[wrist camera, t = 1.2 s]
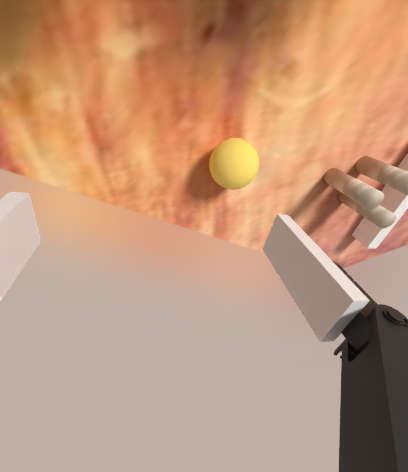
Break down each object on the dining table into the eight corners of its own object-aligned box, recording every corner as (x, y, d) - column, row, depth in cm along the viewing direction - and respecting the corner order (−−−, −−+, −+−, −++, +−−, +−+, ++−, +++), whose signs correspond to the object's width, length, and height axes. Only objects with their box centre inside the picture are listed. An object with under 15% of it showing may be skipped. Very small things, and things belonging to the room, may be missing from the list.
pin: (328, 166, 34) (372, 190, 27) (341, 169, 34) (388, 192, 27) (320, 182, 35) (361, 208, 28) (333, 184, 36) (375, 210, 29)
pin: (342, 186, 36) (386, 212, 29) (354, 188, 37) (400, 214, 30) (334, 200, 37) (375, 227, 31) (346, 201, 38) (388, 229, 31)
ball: (211, 128, 28) (222, 139, 23) (255, 137, 29) (274, 150, 24) (201, 175, 31) (209, 194, 26) (241, 181, 33) (256, 200, 28)
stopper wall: (430, 119, 32) (460, 124, 29) (439, 122, 33) (470, 127, 29) (351, 234, 43) (367, 247, 40) (359, 235, 43) (376, 248, 40)
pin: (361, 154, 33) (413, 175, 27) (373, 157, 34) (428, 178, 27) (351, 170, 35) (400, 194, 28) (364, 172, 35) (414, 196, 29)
